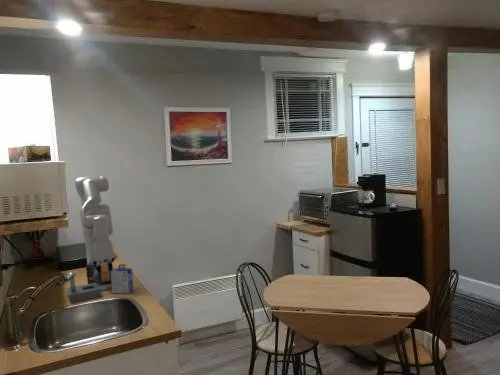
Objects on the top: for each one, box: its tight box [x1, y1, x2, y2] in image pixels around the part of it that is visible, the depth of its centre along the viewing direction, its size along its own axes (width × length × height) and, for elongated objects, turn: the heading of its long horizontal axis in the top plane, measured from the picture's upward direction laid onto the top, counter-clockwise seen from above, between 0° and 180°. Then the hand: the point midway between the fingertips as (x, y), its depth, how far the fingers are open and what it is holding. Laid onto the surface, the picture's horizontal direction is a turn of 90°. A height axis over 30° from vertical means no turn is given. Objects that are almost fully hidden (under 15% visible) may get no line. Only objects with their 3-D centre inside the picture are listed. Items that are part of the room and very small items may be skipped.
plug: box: [100, 263, 110, 281], centre depth 243 cm, size 5×5×9 cm
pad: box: [98, 283, 112, 292], centre depth 244 cm, size 9×9×1 cm
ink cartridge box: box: [111, 263, 134, 294], centre depth 235 cm, size 10×6×14 cm, turn 78°
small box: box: [85, 260, 114, 286], centre depth 253 cm, size 13×7×12 cm, turn 90°
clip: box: [64, 271, 77, 284], centre depth 223 cm, size 15×4×2 cm, turn 10°
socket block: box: [66, 276, 102, 304], centre depth 232 cm, size 14×15×11 cm
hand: (104, 271), depth 243 cm, fingers closed on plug, 5 cm apart
